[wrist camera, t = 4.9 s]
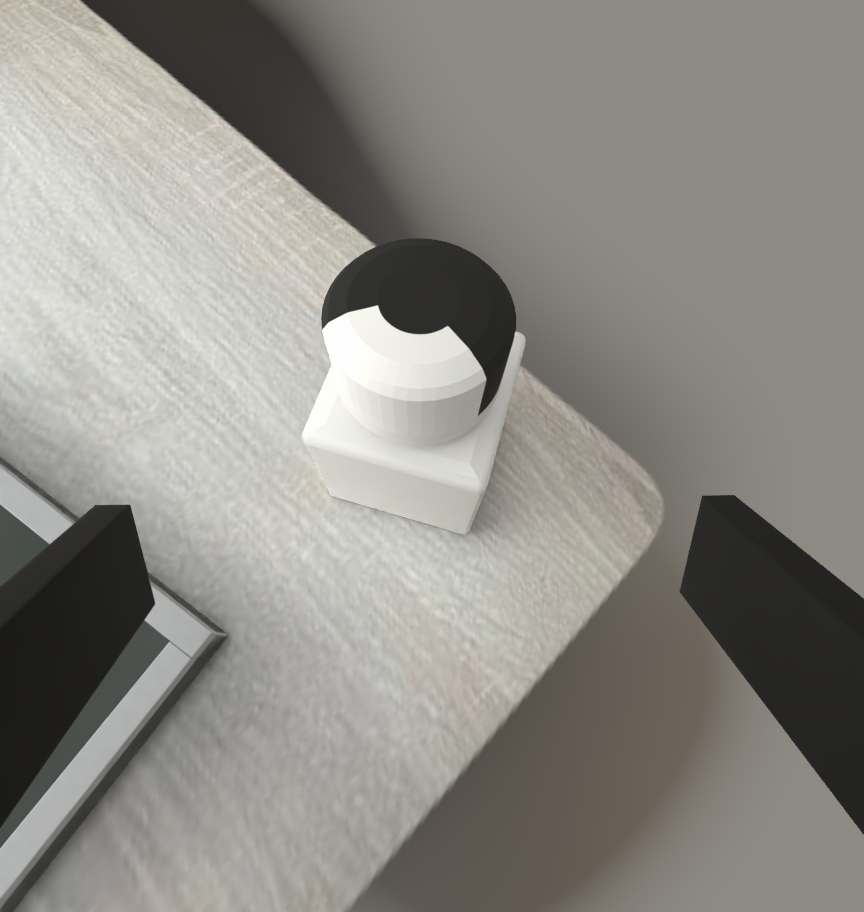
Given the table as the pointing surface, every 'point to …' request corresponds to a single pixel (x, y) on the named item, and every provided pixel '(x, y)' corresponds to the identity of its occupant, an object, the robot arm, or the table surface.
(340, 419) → the medicine bottle
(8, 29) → the table surface
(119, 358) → the table surface
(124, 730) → the chalkboard
